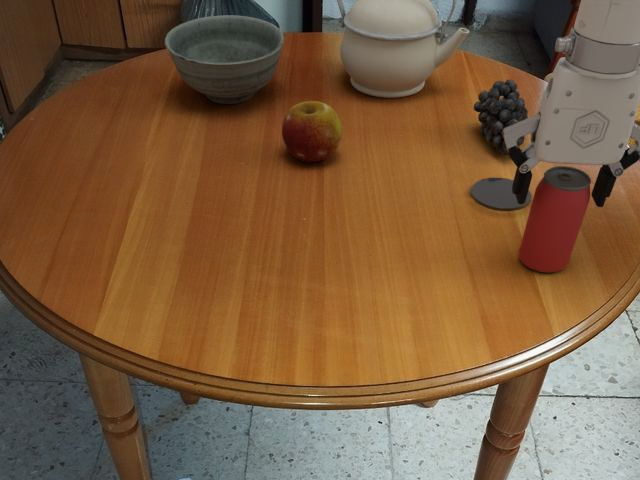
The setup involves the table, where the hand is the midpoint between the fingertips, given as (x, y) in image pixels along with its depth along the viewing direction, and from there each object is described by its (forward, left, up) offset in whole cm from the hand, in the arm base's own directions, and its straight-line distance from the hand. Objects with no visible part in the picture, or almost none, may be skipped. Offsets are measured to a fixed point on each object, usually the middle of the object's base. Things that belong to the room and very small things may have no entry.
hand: (557, 200), depth 84 cm
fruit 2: (+1, -34, -9) cm, 35 cm away
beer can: (0, 0, -9) cm, 9 cm away
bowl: (+48, -51, -9) cm, 70 cm away
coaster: (+3, -17, -9) cm, 20 cm away
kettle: (+17, -57, -9) cm, 60 cm away
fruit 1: (+32, -28, -9) cm, 43 cm away
